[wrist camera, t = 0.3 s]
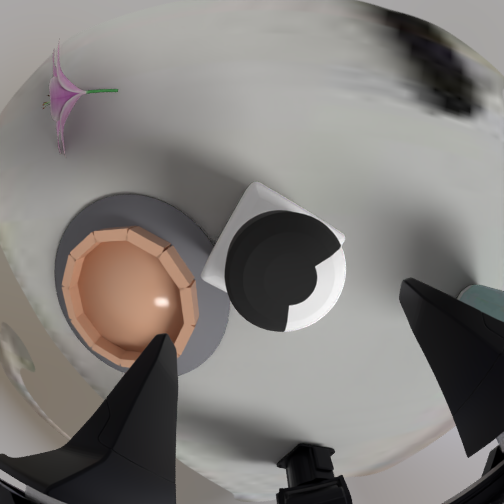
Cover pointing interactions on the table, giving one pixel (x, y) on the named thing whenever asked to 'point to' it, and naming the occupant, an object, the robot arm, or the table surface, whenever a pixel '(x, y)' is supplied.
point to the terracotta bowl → (129, 292)
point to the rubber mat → (179, 235)
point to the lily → (64, 97)
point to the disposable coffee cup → (484, 300)
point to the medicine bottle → (277, 262)
